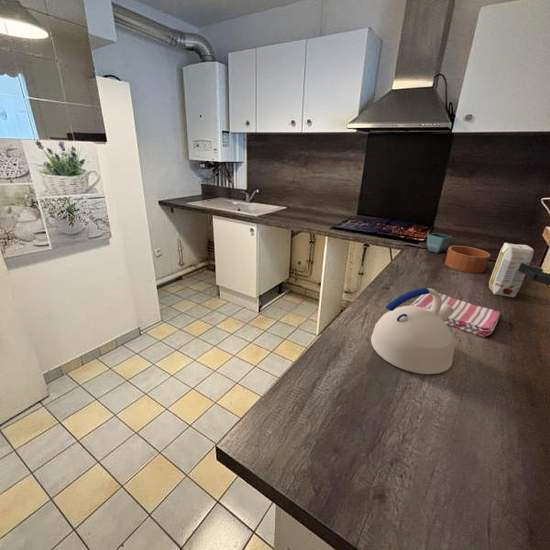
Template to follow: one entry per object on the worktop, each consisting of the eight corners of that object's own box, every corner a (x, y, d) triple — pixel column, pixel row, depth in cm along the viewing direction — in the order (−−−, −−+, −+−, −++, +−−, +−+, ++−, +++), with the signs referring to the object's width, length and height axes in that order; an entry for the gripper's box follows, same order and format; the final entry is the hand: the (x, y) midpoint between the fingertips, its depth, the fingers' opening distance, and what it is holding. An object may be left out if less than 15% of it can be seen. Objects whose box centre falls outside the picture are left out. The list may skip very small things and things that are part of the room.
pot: (487, 266, 139) (492, 251, 136) (482, 276, 128) (488, 260, 125) (448, 257, 149) (452, 243, 146) (441, 266, 137) (445, 251, 134)
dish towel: (489, 340, 83) (493, 329, 82) (407, 309, 98) (409, 300, 96) (499, 318, 95) (502, 309, 93) (424, 294, 109) (426, 285, 108)
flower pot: (447, 252, 157) (452, 236, 154) (439, 255, 153) (443, 238, 149) (432, 247, 164) (436, 232, 160) (423, 250, 159) (427, 234, 156)
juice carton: (518, 298, 108) (538, 250, 101) (491, 294, 111) (509, 247, 103) (510, 290, 115) (528, 244, 107) (485, 286, 117) (501, 241, 110)
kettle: (472, 366, 72) (496, 303, 65) (402, 382, 67) (421, 314, 60) (415, 323, 90) (429, 269, 83) (356, 332, 84) (365, 275, 77)
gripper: (563, 308, 79) (501, 277, 98) (643, 307, 81) (567, 276, 101) (576, 283, 76) (508, 256, 95) (658, 283, 78) (576, 256, 98)
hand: (538, 266), depth 98 cm, fingers open, 13 cm apart
